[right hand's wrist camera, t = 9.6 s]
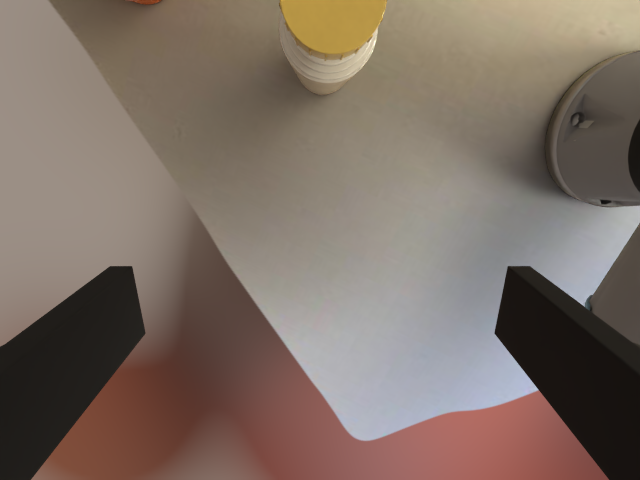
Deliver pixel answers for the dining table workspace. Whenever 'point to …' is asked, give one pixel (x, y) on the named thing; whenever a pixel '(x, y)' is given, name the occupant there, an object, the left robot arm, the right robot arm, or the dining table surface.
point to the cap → (332, 25)
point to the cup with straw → (145, 1)
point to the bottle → (322, 64)
